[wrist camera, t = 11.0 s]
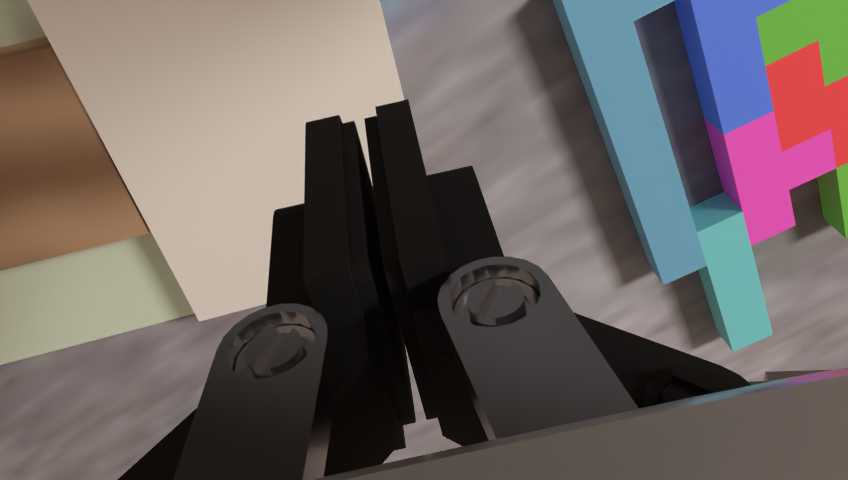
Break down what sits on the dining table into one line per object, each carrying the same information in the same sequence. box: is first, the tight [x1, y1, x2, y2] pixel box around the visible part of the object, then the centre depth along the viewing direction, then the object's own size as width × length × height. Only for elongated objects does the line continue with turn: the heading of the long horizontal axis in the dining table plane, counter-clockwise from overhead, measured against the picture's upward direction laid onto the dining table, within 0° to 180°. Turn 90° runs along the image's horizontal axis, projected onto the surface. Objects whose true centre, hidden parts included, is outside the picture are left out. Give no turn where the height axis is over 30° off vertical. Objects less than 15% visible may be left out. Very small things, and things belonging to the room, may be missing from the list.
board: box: [27, 0, 404, 321], centre depth 34 cm, size 22×14×2 cm, turn 12°
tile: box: [0, 36, 150, 271], centre depth 34 cm, size 10×9×2 cm
